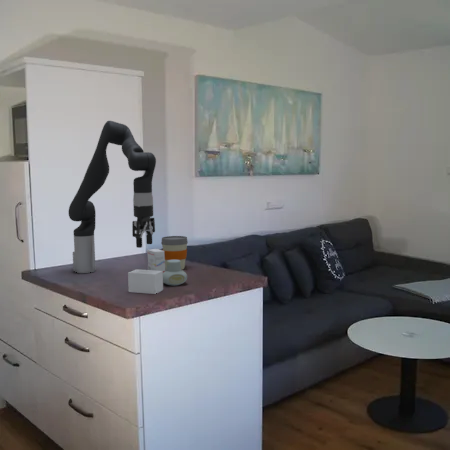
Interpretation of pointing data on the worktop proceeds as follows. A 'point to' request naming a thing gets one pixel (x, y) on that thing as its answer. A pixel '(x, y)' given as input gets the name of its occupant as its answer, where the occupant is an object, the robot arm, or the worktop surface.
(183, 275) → the air freshener
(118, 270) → the worktop surface
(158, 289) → the white rectangular block
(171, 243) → the reusable coffee cup
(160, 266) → the ink box
